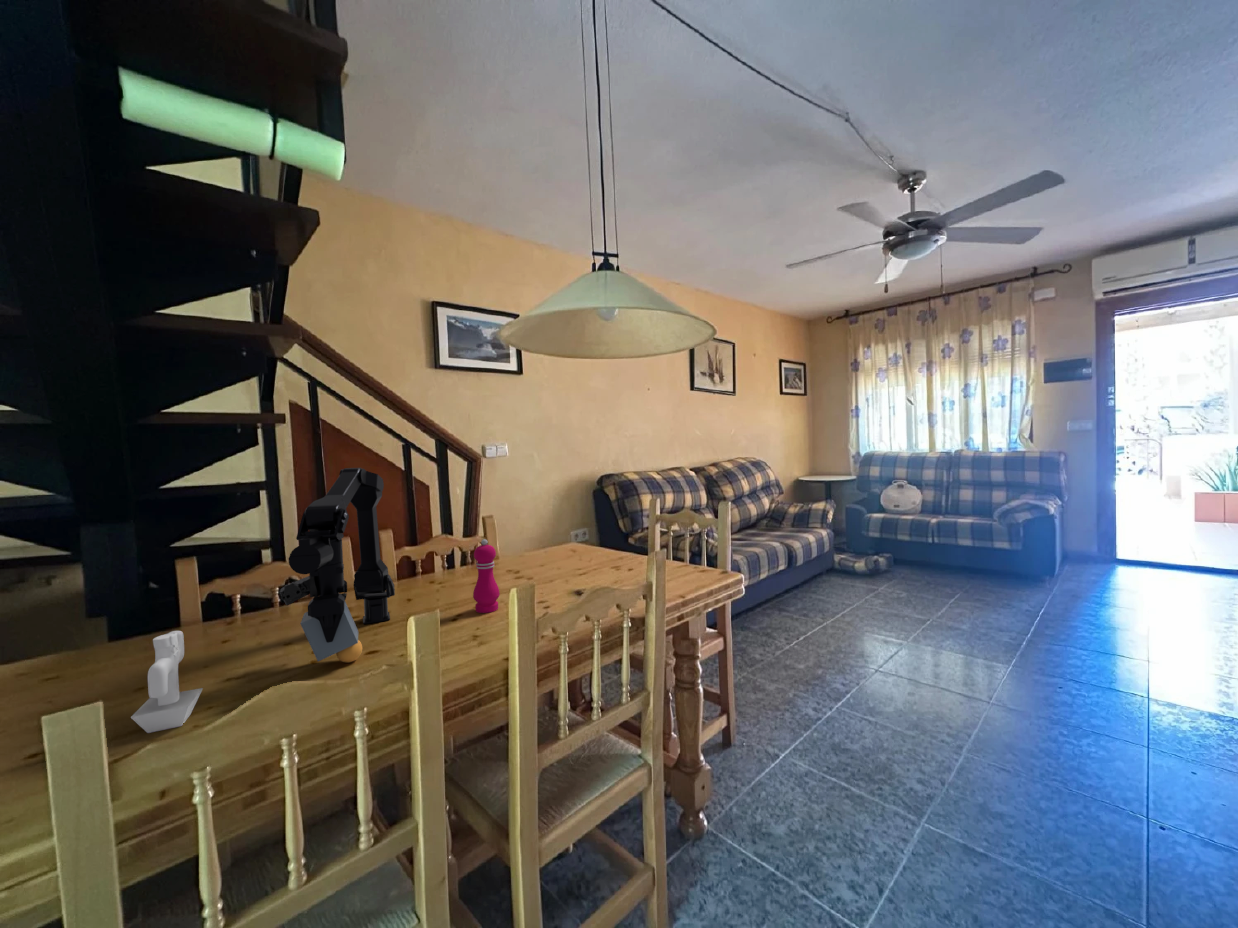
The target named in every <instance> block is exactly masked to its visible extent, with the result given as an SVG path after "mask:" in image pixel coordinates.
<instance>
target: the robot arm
mask: <svg viewBox="0 0 1238 928" xmlns="http://www.w3.org/2000/svg"><path fill="white" fill-rule="evenodd" d="M384 485H385V484H384V479H383V478H382V477H381V476H380V475H379V474H378V473H374V472H371V471H368V470H367V469H365V468H362V467H347V468H343V469H342V468H341V469H340V471H339V474H338V477H337V479H336V480H335V482H334V483H333V485H331V487H330V488H329V490H328V492H327V493H326V494H325V496H324V497H323V496H322V497H321V498H319V499H316V500H313V502H311V503H310V504H309V505H308V506H307V507H306V508H305V510H304V512H303V513H302V516H301V519H300V520H301V521H300V523H299V528H298V530H297V534H296V537H295V539H296V541H298V542H299V543H298V545H297V546H296V547H294V548H293V549H292V551H291V552H290V553H289V557H288V565H289V567H290V569H291V570H292V571H294V572H295V573H297V574H299V575H308V576H306V577H303V578H300V579H298V580H296V581H292V582H291V583H289V584H285V585H284V586H283V587H281V588H280V590H279V594H280V599H281V600H282V601H283V602H284V603H285V605H286V606H288V605H291V604H294V602H295V601H298V600H301V599H302V598H305V597H307V596H309V598H312V599H311V600H310V601H309V602H308V605H307V612H308V616H311V617H312V618H315V619H317V620H319V621H320V624H321V627H322V630H323V633H324V636H325V639H326V642H327V643H329V642H332V641H333V639H334V637H335V634H336V631H337V628H338V626H339V623H340V620H341V618H342V615H343V613H344V609H345V602H346V599H347V595H348V582H347V581H346V580H345V578H344V576H345V575H344V570H345V569H344V568H345V567H344V566H345V564H344V555H343V539H344V533H345V530H346V528H347V524H348V522H349V517H350V516H349V514H348V510H347V508H348V506H349V504H352V506H353V507H354V508H355V509H356V517H357V518H356V519H357V531H358V532H357V533H358V543H359V544H358V545H359V557H360V565H359V567H358V568H357V570H356V571H355V573H354V575H353V577H354V579H353V590H354V596H355V601H360V600H363V608H364V609H363V610H364V611H363V612H364V616H362V624H363V625H367V624H373V623H374V624H375V623H379V622H385V621H390V620H391V616H390V612H389V609H388V607H389V606H388V598H391V597H394V596H395V594H396V591H395V590H396V589H395V584H394V581H393V579H392V577H391V575H390V574H389V569H388V566H387V565H386V563H385V562H384V561H383V560H382V559H381V553H380V552H381V551H380V549H381V548H380V539H379V538H380V537H379V525H378V511H377V506H378V504H379V503H380V501H381V499H382V497H383V491H384Z"/></svg>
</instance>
